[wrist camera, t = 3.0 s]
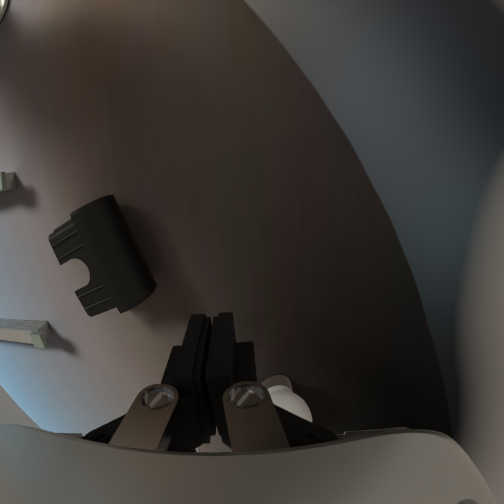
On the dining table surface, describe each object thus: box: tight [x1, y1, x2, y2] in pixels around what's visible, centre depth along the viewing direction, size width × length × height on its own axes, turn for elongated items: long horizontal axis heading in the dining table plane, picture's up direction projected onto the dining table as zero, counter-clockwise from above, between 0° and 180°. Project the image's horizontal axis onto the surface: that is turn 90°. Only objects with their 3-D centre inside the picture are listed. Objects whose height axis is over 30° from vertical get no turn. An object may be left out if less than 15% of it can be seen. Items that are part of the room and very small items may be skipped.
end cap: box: [49, 195, 156, 317], centre depth 26 cm, size 10×7×7 cm
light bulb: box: [261, 375, 312, 422], centre depth 30 cm, size 7×7×11 cm
